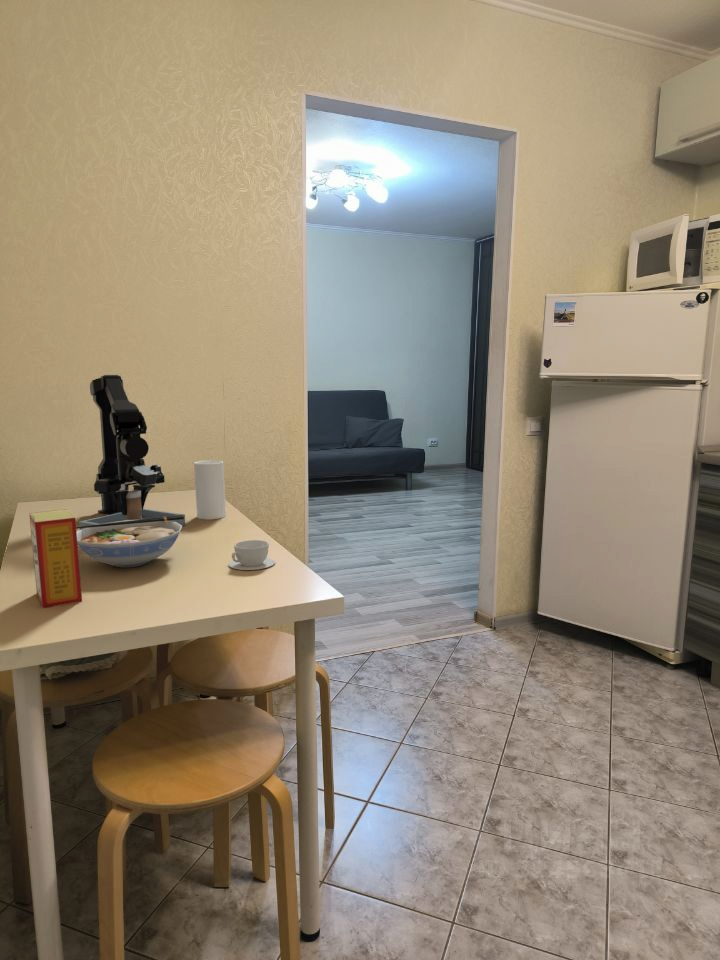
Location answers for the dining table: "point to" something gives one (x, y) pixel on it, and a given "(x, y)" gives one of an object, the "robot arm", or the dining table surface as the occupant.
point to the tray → (120, 517)
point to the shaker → (133, 505)
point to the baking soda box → (55, 557)
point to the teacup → (251, 555)
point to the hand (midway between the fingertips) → (132, 513)
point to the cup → (210, 489)
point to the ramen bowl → (129, 540)
